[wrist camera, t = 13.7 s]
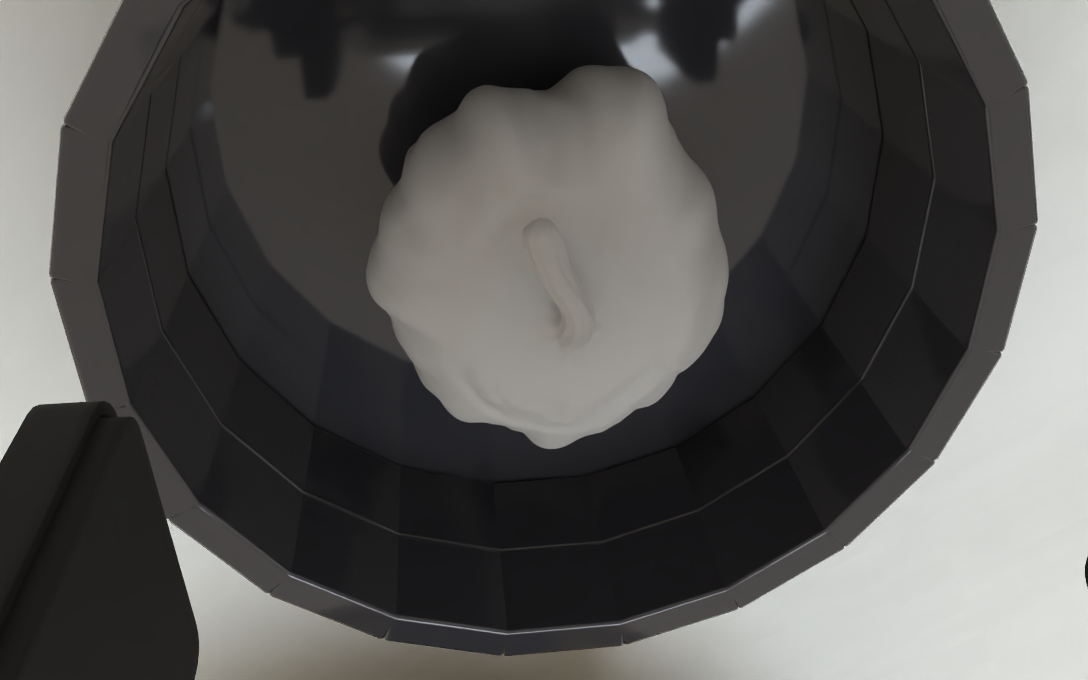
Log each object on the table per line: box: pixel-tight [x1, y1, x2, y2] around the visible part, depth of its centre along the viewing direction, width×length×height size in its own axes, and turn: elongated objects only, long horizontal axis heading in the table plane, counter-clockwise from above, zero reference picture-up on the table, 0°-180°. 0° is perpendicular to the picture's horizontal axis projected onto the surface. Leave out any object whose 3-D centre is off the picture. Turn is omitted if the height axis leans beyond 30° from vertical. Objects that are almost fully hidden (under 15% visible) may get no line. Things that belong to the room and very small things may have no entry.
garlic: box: [366, 65, 729, 449], centre depth 15 cm, size 6×5×5 cm
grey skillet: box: [49, 0, 1038, 656], centre depth 16 cm, size 13×13×4 cm
